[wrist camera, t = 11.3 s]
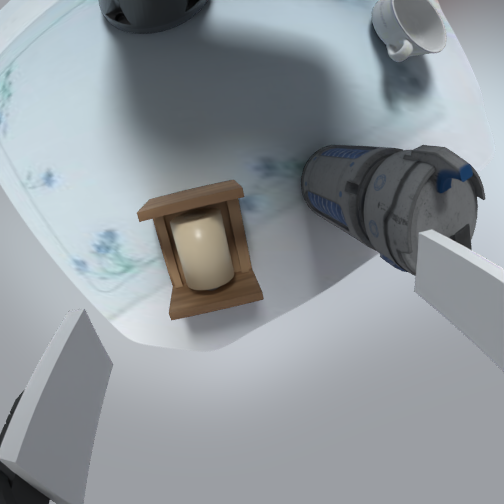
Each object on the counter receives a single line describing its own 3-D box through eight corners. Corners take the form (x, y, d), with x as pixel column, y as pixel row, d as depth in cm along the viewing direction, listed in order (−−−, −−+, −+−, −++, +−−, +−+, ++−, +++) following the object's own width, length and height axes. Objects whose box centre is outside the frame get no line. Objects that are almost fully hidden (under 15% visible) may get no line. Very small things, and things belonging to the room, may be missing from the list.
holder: (149, 199, 36) (136, 212, 28) (233, 179, 37) (242, 187, 29) (175, 289, 40) (171, 320, 33) (251, 271, 41) (263, 299, 34)
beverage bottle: (321, 243, 42) (435, 345, 19) (283, 159, 37) (408, 184, 14) (376, 212, 42) (509, 278, 19) (346, 129, 37) (498, 131, 14)
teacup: (382, -6, 29) (409, -23, 22) (426, 40, 33) (457, 31, 26) (340, 34, 32) (368, 16, 24) (391, 85, 35) (425, 78, 28)
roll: (183, 210, 37) (160, 226, 32) (227, 204, 35) (209, 219, 30) (198, 269, 40) (179, 291, 35) (240, 266, 38) (226, 290, 33)
